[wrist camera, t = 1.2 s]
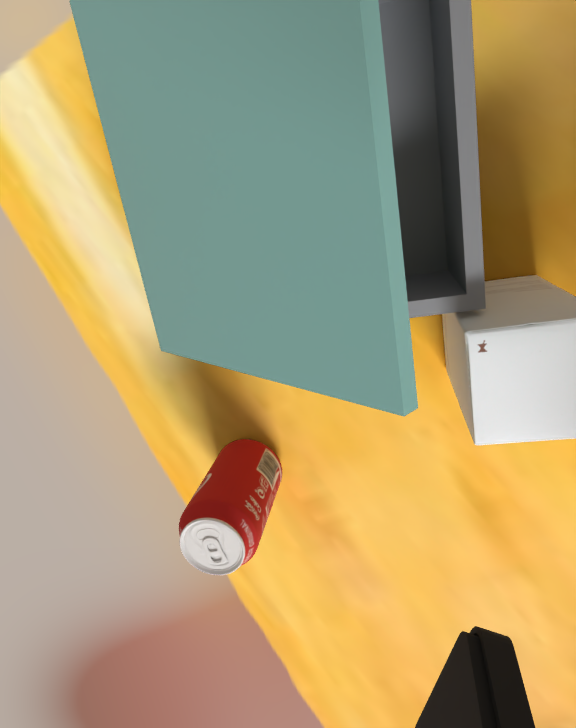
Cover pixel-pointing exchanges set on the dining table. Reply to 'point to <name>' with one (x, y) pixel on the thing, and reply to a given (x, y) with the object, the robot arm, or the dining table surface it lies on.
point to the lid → (260, 185)
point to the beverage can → (230, 508)
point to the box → (435, 151)
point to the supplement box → (515, 362)
